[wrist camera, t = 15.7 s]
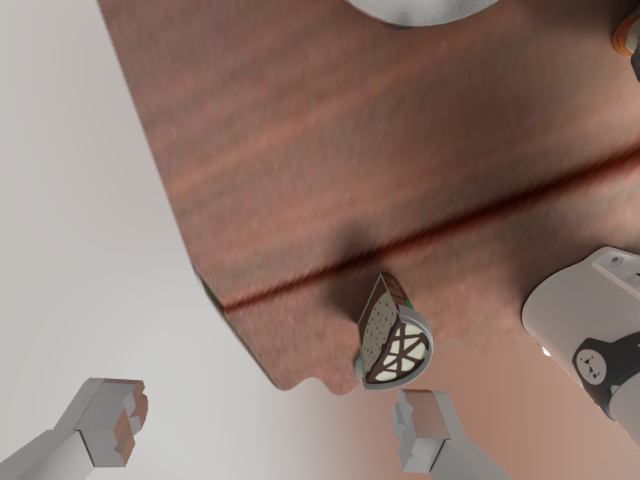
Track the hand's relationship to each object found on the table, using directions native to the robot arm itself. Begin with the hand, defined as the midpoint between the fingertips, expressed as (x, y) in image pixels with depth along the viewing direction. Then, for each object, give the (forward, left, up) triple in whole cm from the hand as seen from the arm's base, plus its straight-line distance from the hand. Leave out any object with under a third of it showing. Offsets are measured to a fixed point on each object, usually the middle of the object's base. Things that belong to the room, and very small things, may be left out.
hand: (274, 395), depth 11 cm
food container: (-14, +20, -29) cm, 38 cm away
